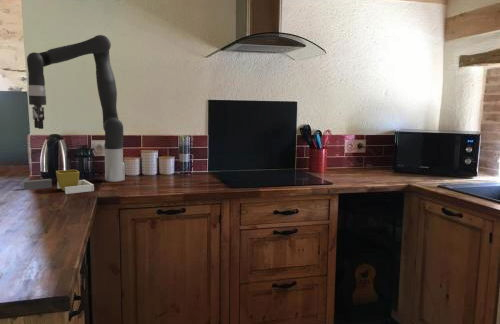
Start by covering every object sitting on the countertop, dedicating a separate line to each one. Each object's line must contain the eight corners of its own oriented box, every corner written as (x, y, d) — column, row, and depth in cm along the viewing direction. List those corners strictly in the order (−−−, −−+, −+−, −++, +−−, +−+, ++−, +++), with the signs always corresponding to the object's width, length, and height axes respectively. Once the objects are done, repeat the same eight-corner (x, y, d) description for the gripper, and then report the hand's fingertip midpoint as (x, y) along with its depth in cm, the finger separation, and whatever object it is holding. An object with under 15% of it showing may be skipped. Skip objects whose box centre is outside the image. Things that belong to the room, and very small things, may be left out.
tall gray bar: (50, 186, 200) (50, 178, 200) (52, 187, 198) (51, 179, 197) (23, 189, 193) (22, 181, 192) (24, 190, 190) (23, 182, 190)
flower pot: (60, 192, 186) (59, 173, 185) (56, 189, 193) (55, 170, 192) (80, 190, 191) (79, 171, 190) (76, 187, 198) (75, 169, 197)
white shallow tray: (84, 185, 203) (84, 179, 203) (93, 190, 192) (93, 184, 191) (57, 188, 196) (57, 182, 195) (65, 193, 184) (65, 187, 184)
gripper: (49, 95, 195) (50, 129, 198) (42, 95, 206) (44, 127, 209) (31, 94, 191) (33, 129, 193) (25, 95, 202) (27, 127, 204)
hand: (38, 128), depth 201 cm, fingers open, 8 cm apart
